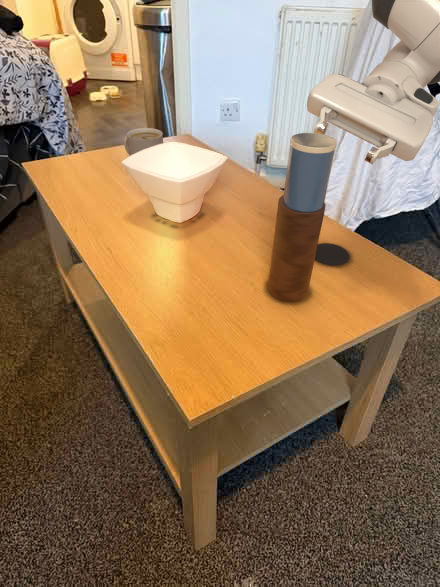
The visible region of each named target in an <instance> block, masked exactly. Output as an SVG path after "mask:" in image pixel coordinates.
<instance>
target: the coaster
mask: <svg viewBox="0 0 440 587" xmlns="http://www.w3.org/2000/svg"><path fill="white" fill-rule="evenodd" d="M349 260H350V254H349V251H348V250H346V249H345V248H344V247H342V246H340V245H338V244H335V243H329V242H328V243H327V242H324V243H318V246H317V251H316V256H315V260H314V261H317V263H320V264H323V265H326V266H332V267H333V266H342V265H344V264H347V263H348V261H349Z"/></svg>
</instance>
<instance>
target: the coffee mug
mask: <svg viewBox="0 0 440 587" xmlns="http://www.w3.org/2000/svg"><path fill="white" fill-rule="evenodd" d="M162 143H164V133H163V131H161V130H160V129H158V128H157V129H156V128H152V127H142V128H141V127H140V128H139V127H138V128H134V129H131V130H129V131H128V132H127V133H126V135H125V136H124V138H123V146H124V149H125V151H126V153H127V154H128V157H129V156H131V155H133V154H135V153H137V152H139V151H142V150H144V149H147V148H149V147H152V146H155V145H158V144H162Z"/></svg>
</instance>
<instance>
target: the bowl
mask: <svg viewBox="0 0 440 587" xmlns="http://www.w3.org/2000/svg"><path fill="white" fill-rule="evenodd" d="M228 160H229V158H228V157H227V156H226V155H225V154H221V153H219V152H217V151H214V150H210V149H207V148H204V147H200V146H196V145H191V144H189V143H185V142H179V141H173V140H172V141H167V142H163V143H162V144H158V145H155V146H152V147H149V148H147V149H144V150H142V151H139V152H137V153H135V154H133V155H131V156H129V155H128V156H127V158H125V159H123V160H122V161H121V165H122V167H123V168H124V169H125V171H126V172H127V173H128V175H129V176H130V178H132V179H133V181H134V182H135V184H136V185H137V186H138V187H139V189H140V190H141V192H143V193H145V194H147V196H148V198H149V200H150V203H151V205H152V207H153V209H154V211H155V214H156V215H157V216H159V217H161V218H163V219H166V220H168V221H171V222H174V223H177V224H181V223H184V222H187V221H189V220H190V219H192V218H194V217H195V216H196V215H198V214H199V212H200V211H201V208H202V205H203V201H204V199H205V196H206V193H207V192H208V191H210V189H212V187H213V185H214V184H215V182H216V180H218V177H219V175H220V174H221V172H222V170H223V169H224V167H225V166H226V165H227V163H228Z"/></svg>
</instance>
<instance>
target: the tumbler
mask: <svg viewBox="0 0 440 587" xmlns="http://www.w3.org/2000/svg"><path fill="white" fill-rule="evenodd" d="M337 145H338V141H337V140H336V138H334V137H332V136H330V135H327V134H319V133H313V132H299V133H296V134H295V133H294V134H293V135H292V136H291V137H290V142H289V151H288V159H287V164H286V165H287V167H286V174H285V180H284V189H283V195H284V196H283V203H284V204H285V205H286V206H287V207H289V208H290V209H293V210H296V211H301V212H313V211H318V210H320V209H322V208H323V206H324V202H325V203H326V196H327V191H328V186H329V182H330V178H331V172H332V168H333V162H334V157H335V153H336V152H335V151H336V148H337Z"/></svg>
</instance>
